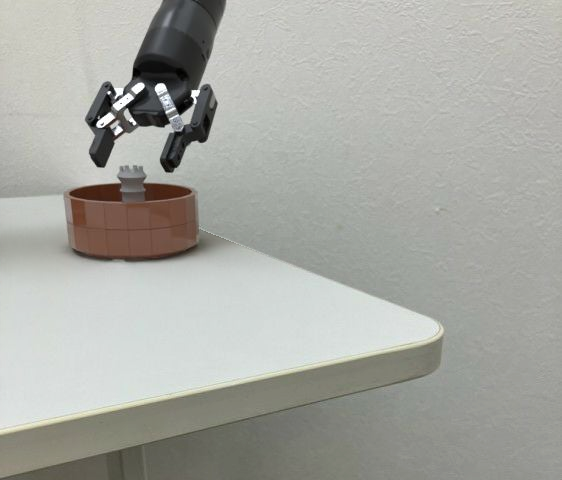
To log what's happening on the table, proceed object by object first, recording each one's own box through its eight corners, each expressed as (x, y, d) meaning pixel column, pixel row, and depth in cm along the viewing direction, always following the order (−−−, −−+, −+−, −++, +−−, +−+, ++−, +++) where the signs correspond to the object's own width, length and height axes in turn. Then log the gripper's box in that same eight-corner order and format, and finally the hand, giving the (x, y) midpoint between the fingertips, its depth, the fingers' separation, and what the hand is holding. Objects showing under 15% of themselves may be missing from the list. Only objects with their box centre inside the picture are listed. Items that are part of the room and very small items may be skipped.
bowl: (42, 254, 70) (34, 196, 68) (115, 228, 83) (111, 179, 80) (160, 267, 66) (156, 206, 64) (219, 239, 78) (217, 187, 76)
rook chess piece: (163, 238, 76) (159, 165, 72) (143, 246, 72) (138, 170, 69) (129, 234, 77) (124, 163, 74) (108, 242, 73) (101, 167, 70)
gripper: (108, 24, 75) (56, 138, 70) (222, 23, 71) (177, 144, 66) (135, 76, 82) (90, 183, 77) (241, 78, 78) (202, 192, 72)
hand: (130, 165), depth 71 cm, fingers open, 8 cm apart
